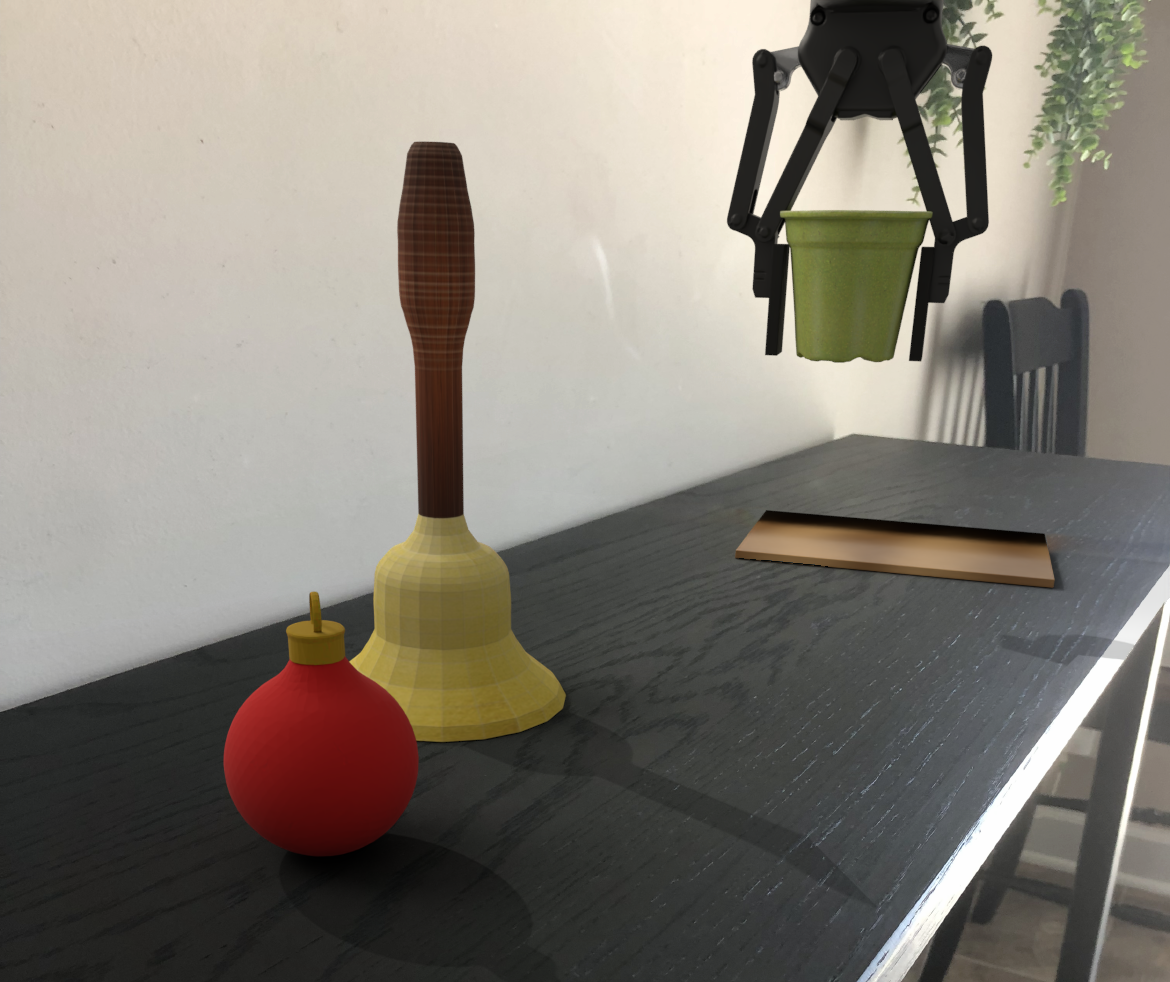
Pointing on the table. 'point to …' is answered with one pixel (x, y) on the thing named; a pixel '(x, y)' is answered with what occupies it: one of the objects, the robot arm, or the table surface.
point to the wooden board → (901, 548)
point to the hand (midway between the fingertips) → (843, 355)
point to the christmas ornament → (320, 749)
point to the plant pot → (851, 280)
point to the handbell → (446, 502)
